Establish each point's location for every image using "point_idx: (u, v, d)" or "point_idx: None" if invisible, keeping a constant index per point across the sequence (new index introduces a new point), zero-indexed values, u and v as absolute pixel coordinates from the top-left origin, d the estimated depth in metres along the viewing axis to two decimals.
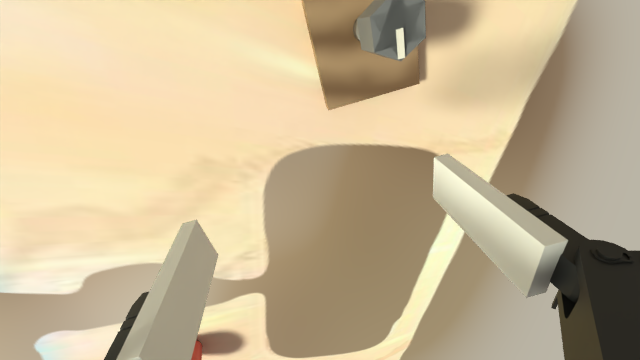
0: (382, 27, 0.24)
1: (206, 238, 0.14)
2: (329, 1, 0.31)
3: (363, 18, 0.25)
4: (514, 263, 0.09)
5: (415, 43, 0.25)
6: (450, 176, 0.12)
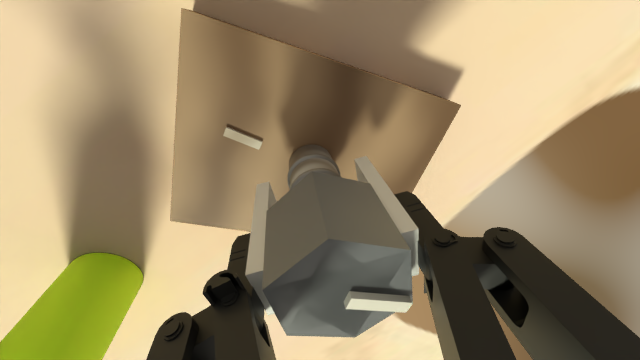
0: (321, 320, 0.10)
1: (275, 199, 0.16)
2: (246, 199, 0.19)
3: None
4: None
5: (403, 271, 0.09)
6: (362, 176, 0.14)
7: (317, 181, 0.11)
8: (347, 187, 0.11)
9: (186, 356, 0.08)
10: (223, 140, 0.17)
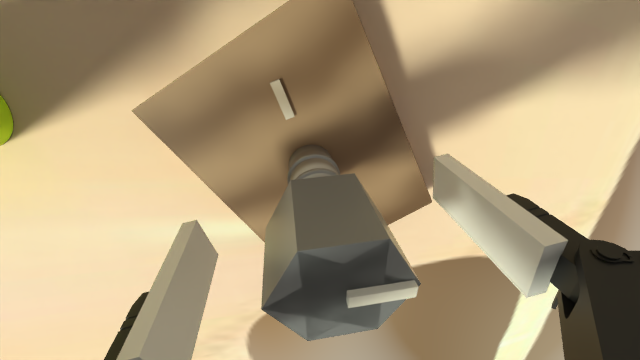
0: (333, 322, 0.10)
1: (206, 238, 0.14)
2: (231, 151, 0.17)
3: None
4: (514, 263, 0.09)
5: (394, 259, 0.09)
6: (450, 177, 0.12)
7: (295, 190, 0.11)
8: (327, 186, 0.11)
9: None
10: (264, 86, 0.15)
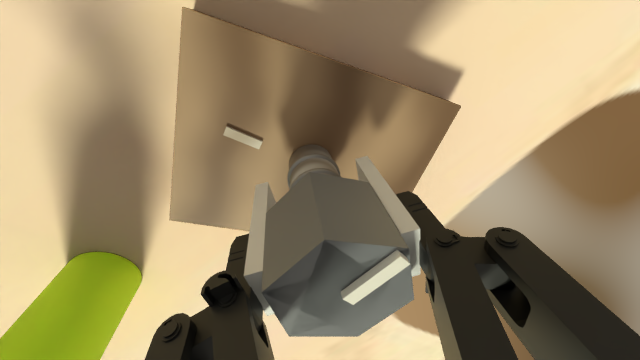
0: (362, 315, 0.10)
1: (274, 199, 0.16)
2: (246, 198, 0.19)
3: None
4: None
5: (352, 249, 0.08)
6: (363, 176, 0.14)
7: (267, 222, 0.12)
8: (288, 202, 0.11)
9: (184, 357, 0.08)
10: (223, 140, 0.17)
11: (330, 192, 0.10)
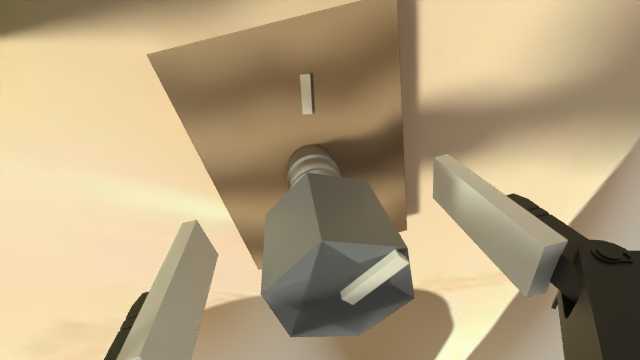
0: (362, 314, 0.10)
1: (206, 238, 0.14)
2: (238, 128, 0.16)
3: None
4: (514, 263, 0.09)
5: (350, 249, 0.08)
6: (450, 176, 0.12)
7: (267, 224, 0.12)
8: (287, 204, 0.11)
9: None
10: (293, 76, 0.15)
11: (328, 192, 0.10)
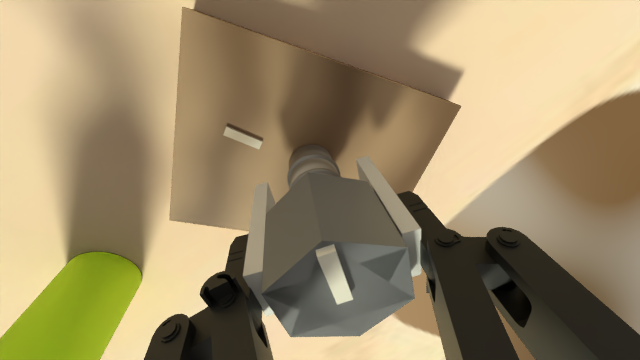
0: (385, 289, 0.10)
1: (273, 199, 0.16)
2: (246, 198, 0.19)
3: None
4: None
5: (287, 280, 0.08)
6: (364, 176, 0.14)
7: None
8: None
9: (183, 357, 0.08)
10: (223, 140, 0.17)
11: (275, 225, 0.11)
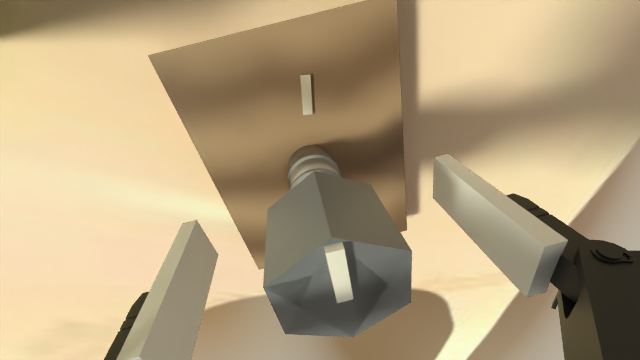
0: (384, 291, 0.10)
1: (206, 238, 0.14)
2: (238, 129, 0.16)
3: None
4: (514, 263, 0.09)
5: (291, 275, 0.08)
6: (450, 177, 0.12)
7: None
8: None
9: None
10: (293, 76, 0.15)
11: (278, 220, 0.11)
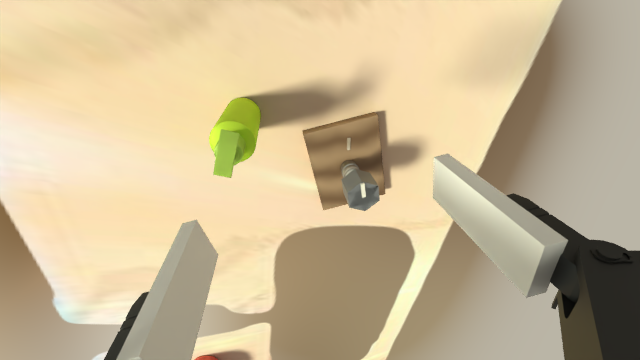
0: (373, 196, 0.42)
1: (206, 238, 0.14)
2: (325, 154, 0.49)
3: None
4: (514, 263, 0.09)
5: (353, 190, 0.41)
6: (450, 177, 0.12)
7: None
8: (343, 188, 0.45)
9: None
10: (345, 138, 0.48)
11: (346, 181, 0.43)
